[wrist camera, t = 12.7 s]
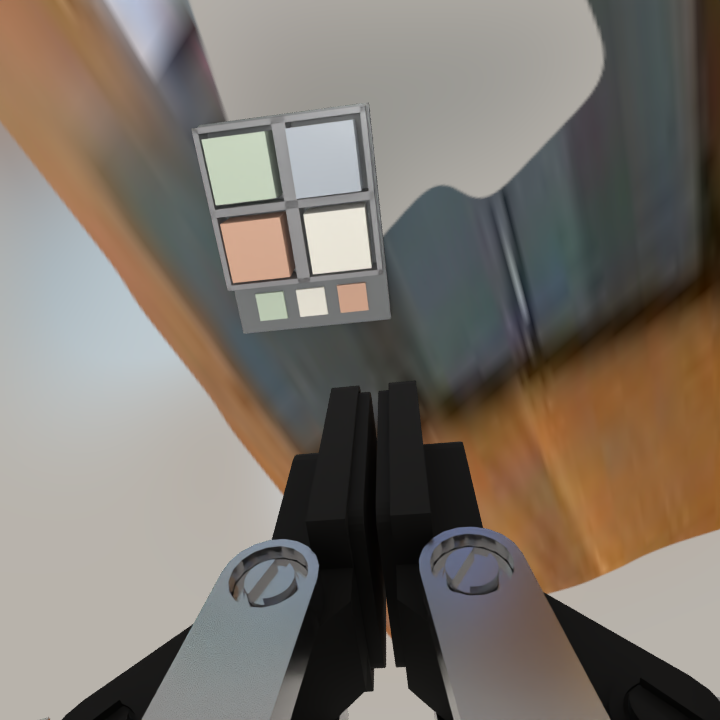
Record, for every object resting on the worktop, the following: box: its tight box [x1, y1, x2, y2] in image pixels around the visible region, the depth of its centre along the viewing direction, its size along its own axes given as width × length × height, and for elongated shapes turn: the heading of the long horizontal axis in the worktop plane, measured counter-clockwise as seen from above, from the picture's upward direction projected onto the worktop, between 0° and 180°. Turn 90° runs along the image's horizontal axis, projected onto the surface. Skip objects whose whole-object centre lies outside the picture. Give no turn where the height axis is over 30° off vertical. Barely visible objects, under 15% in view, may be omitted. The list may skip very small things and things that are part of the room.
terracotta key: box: [220, 211, 296, 283], centre depth 44 cm, size 5×5×3 cm
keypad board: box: [192, 103, 391, 334], centre depth 44 cm, size 13×17×4 cm
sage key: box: [202, 130, 283, 205], centre depth 42 cm, size 5×5×3 cm
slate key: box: [285, 119, 363, 199], centre depth 39 cm, size 5×5×3 cm
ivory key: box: [303, 201, 372, 274], centre depth 43 cm, size 5×5×3 cm
